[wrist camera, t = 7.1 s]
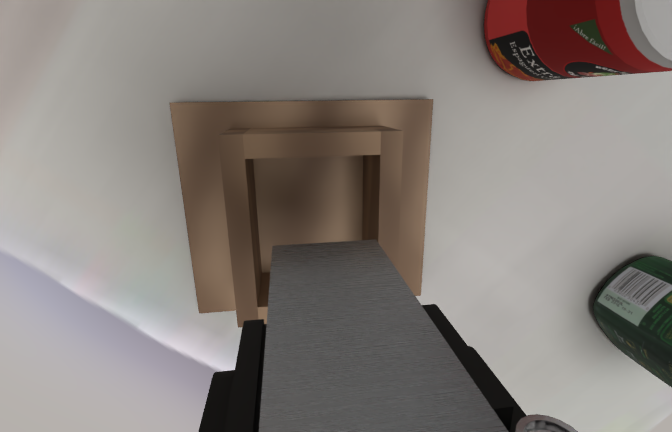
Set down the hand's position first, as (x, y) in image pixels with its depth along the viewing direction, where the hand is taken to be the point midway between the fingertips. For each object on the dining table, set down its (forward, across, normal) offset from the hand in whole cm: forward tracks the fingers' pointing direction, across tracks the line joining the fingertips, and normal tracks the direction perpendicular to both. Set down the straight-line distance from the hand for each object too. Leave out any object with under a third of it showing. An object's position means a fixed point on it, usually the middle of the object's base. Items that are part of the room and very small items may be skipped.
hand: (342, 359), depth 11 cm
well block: (+16, 0, 0) cm, 16 cm away
